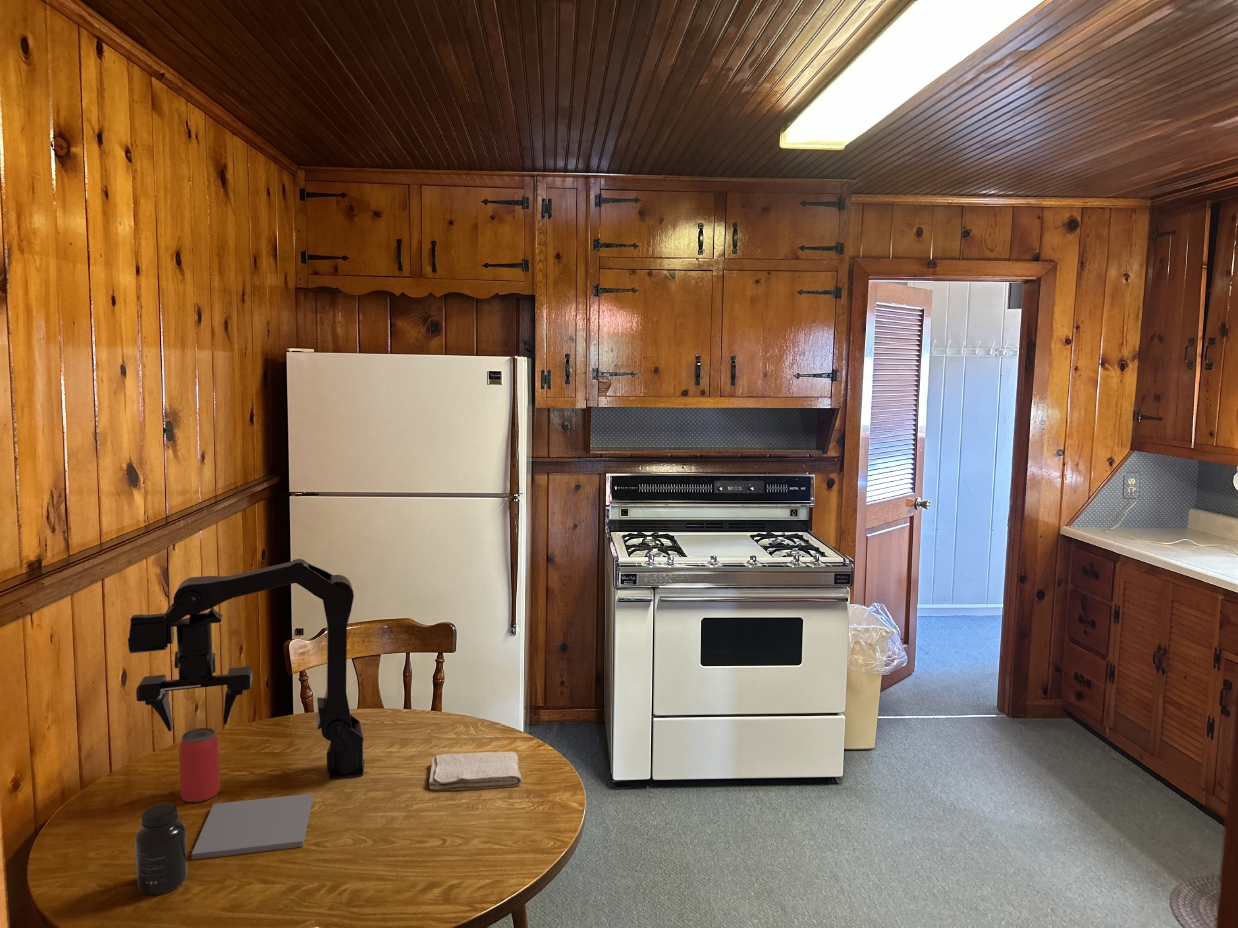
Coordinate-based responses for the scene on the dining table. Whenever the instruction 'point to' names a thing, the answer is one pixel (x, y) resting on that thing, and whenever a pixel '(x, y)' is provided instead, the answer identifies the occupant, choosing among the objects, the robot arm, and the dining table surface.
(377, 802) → the dining table surface
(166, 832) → the supplement bottle
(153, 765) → the dining table surface
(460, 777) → the washcloth
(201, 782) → the beer can
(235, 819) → the slate board
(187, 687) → the robot arm
